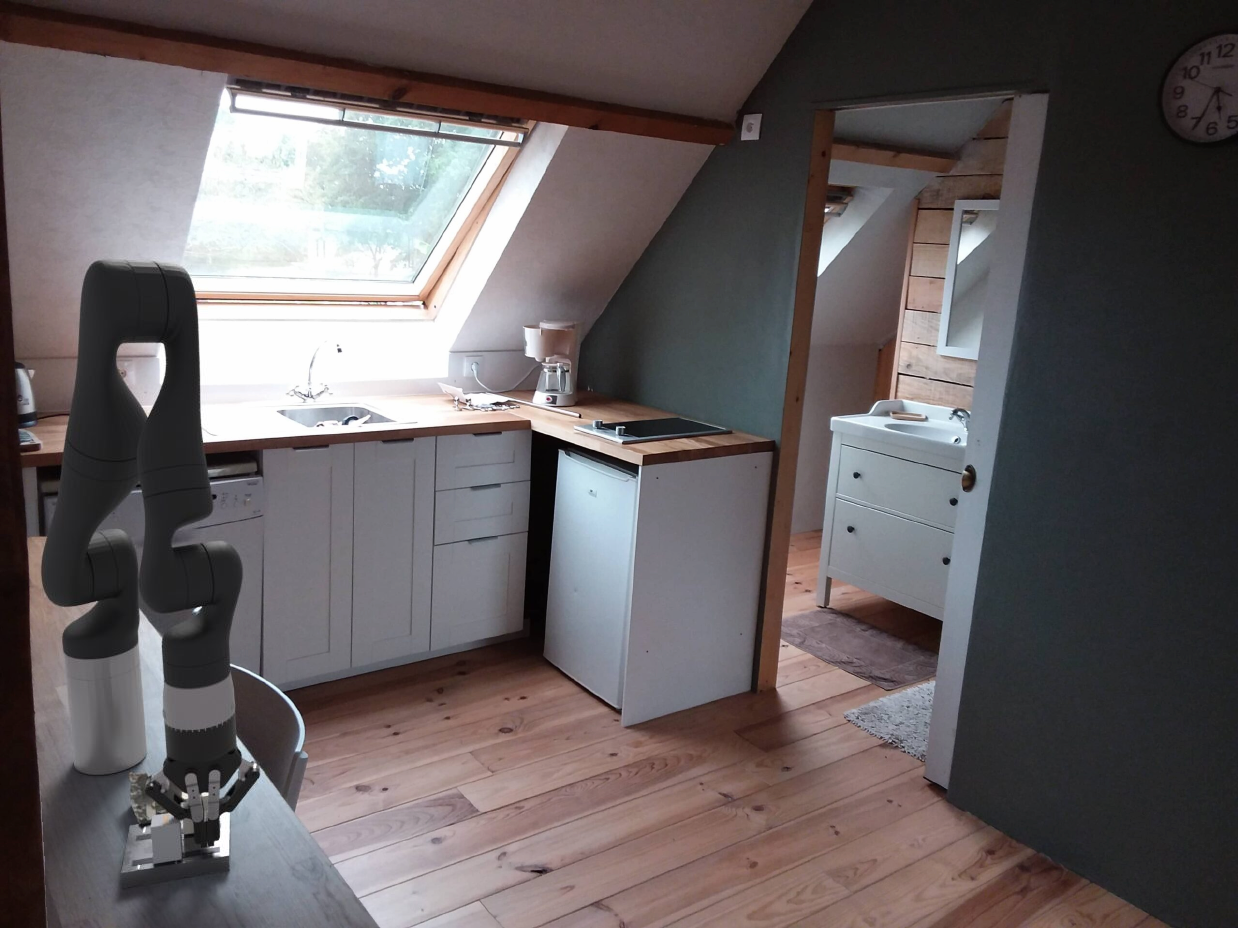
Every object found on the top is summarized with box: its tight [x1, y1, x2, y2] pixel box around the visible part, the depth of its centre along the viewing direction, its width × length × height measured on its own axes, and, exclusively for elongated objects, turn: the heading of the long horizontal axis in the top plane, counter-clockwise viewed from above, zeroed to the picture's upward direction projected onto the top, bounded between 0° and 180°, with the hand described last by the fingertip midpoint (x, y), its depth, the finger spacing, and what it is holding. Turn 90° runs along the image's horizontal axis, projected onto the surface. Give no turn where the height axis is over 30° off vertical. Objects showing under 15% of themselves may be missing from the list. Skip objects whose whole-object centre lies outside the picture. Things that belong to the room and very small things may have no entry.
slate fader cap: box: [151, 813, 183, 864], centre depth 116 cm, size 2×3×5 cm
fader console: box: [120, 812, 232, 889], centre depth 120 cm, size 10×12×2 cm
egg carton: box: [128, 771, 182, 824], centre depth 128 cm, size 11×8×4 cm
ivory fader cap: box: [182, 792, 208, 834], centre depth 122 cm, size 2×3×5 cm
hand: (207, 843), depth 118 cm, fingers closed
